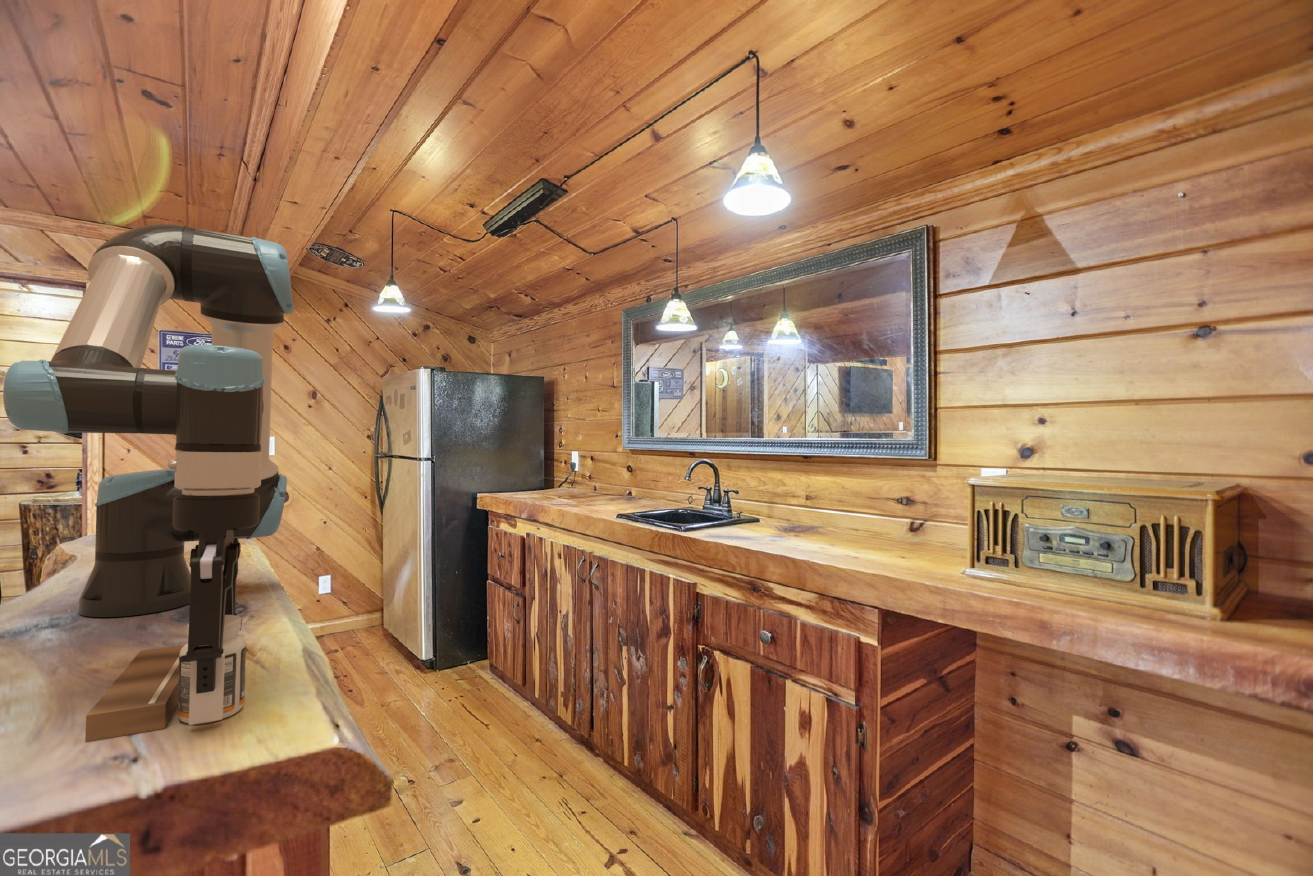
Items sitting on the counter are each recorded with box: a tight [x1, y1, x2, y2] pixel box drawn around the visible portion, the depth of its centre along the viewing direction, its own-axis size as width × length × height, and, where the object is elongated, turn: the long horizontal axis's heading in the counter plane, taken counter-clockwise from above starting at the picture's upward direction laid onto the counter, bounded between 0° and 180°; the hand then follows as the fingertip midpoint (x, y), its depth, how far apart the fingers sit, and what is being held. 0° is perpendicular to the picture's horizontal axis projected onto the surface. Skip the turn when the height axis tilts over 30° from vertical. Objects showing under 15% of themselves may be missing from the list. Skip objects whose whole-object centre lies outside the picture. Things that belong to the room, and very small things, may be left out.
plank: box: [84, 645, 184, 743], centre depth 68 cm, size 20×6×3 cm, turn 29°
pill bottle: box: [177, 615, 247, 725], centre depth 64 cm, size 6×6×10 cm
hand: (211, 706), depth 64 cm, fingers open, 7 cm apart
